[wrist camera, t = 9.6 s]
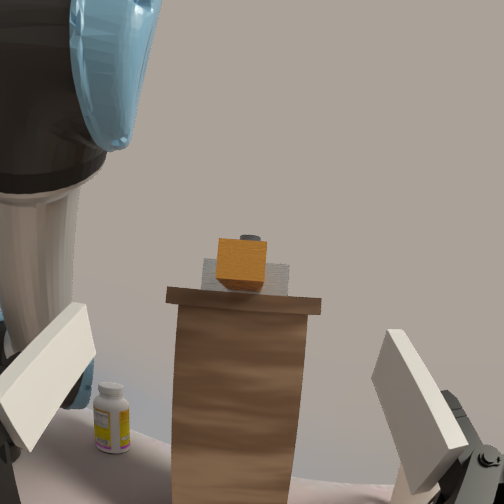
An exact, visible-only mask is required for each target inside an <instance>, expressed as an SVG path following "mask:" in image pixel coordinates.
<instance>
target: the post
mask: <svg viewBox="0 0 504 504" xmlns="http://www.w3.org/2000/svg"><path fill="white" fill-rule="evenodd" d="M166 303H171V304H178V305H179V307H178V318H177V331H176V345H175V361H174V379H173V402H172V444H171V484H172V504H287V499H288V493H289V486H290V480H291V472H292V465H293V458H294V450H295V443H296V435H297V427H298V418H299V408H300V400H301V390H302V380H303V368H304V358H305V346H306V332H307V318H308V315H320V314H321V298H307V297H291V296H276V295H261V294H248V293H235V292H222V291H211V290H198V289H188V288H178V287H167V294H166Z"/></svg>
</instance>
